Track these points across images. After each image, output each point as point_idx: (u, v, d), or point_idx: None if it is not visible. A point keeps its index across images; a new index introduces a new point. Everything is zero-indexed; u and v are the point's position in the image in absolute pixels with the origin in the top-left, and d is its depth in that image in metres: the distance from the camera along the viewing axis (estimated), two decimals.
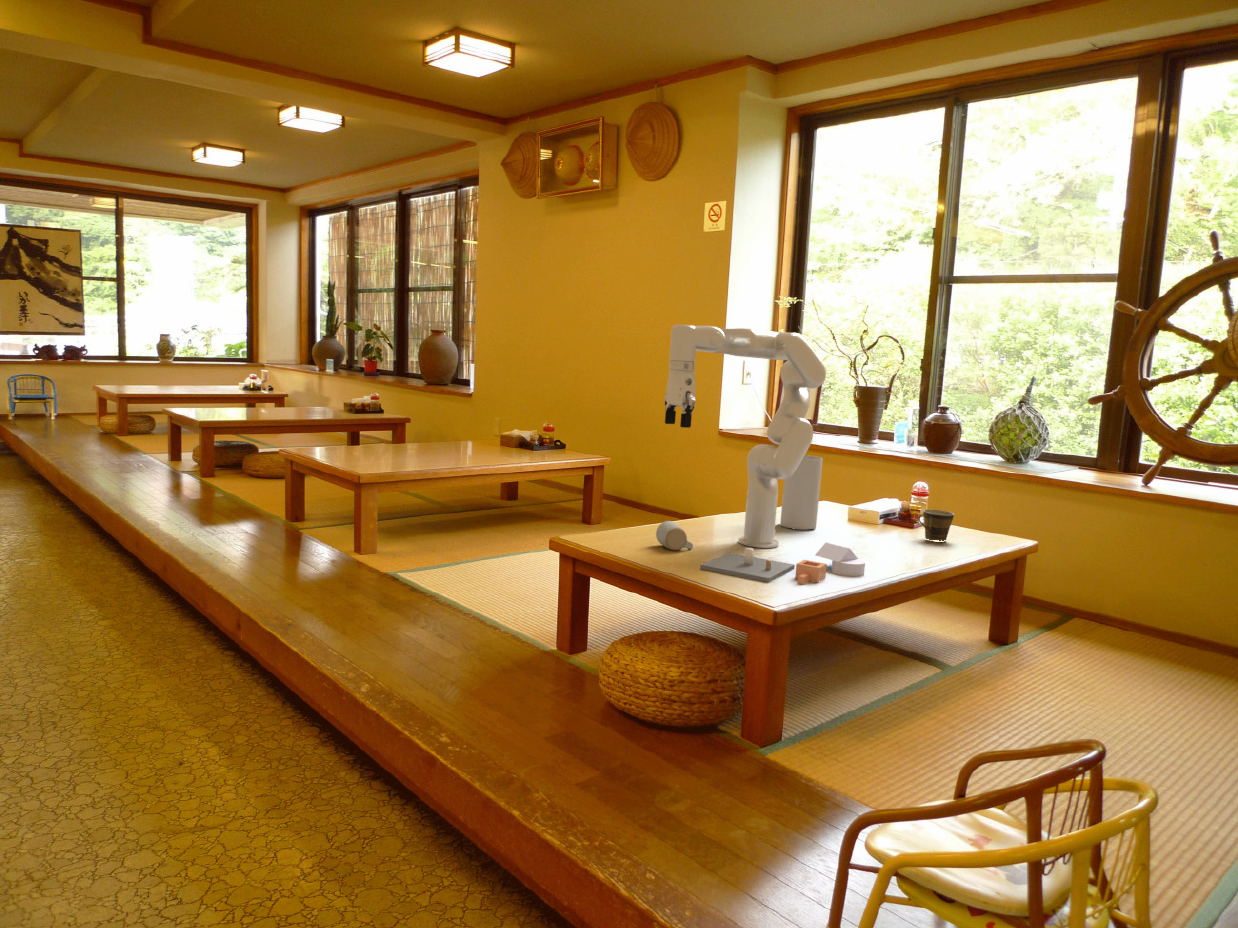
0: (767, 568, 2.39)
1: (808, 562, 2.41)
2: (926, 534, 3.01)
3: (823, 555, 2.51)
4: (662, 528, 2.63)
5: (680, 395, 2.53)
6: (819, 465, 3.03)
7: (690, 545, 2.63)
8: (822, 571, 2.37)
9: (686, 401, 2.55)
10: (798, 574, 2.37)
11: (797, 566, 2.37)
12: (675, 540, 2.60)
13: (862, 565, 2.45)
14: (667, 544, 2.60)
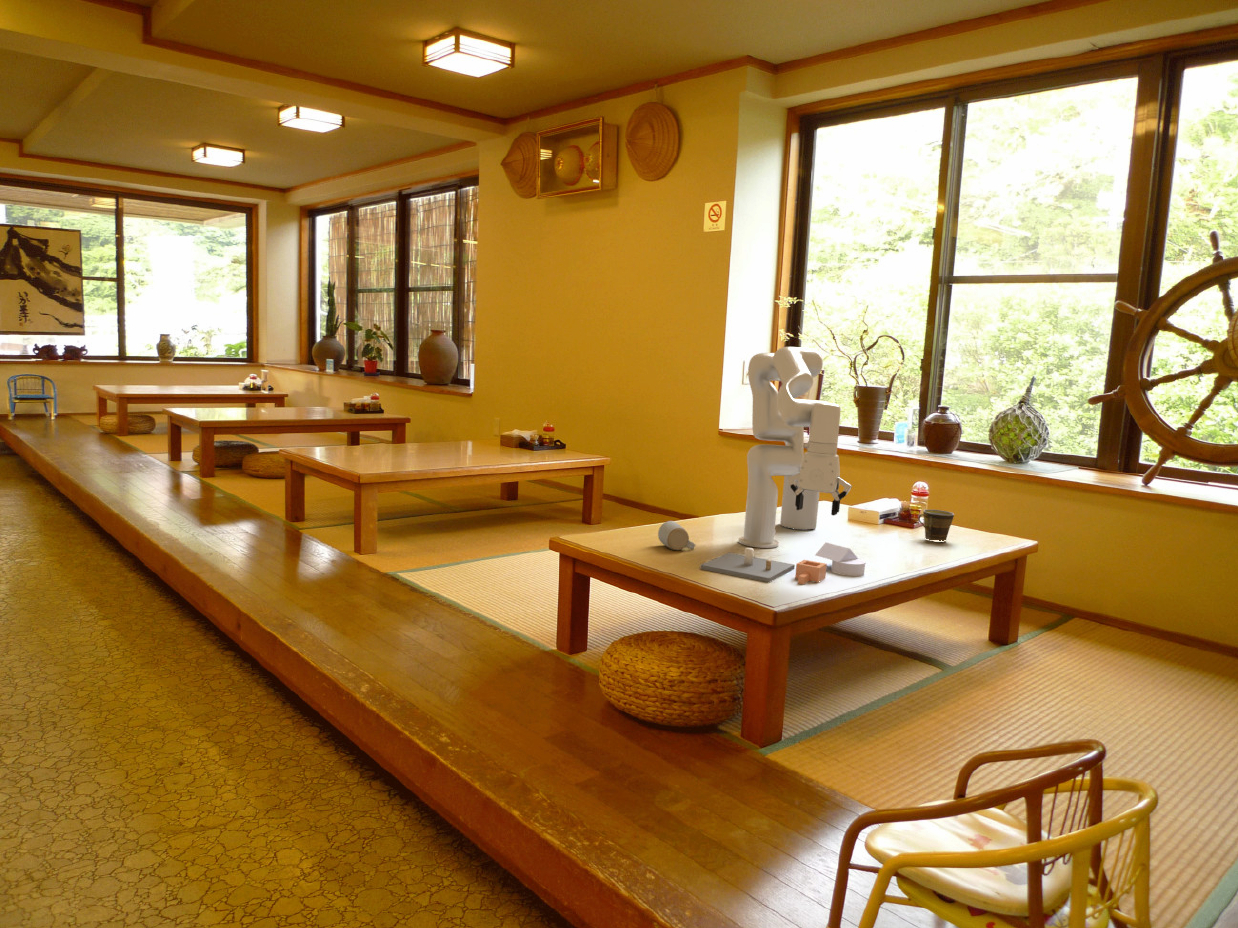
0: (767, 568, 2.39)
1: (808, 562, 2.41)
2: (926, 534, 3.01)
3: (823, 555, 2.50)
4: (664, 528, 2.63)
5: None
6: None
7: (692, 545, 2.63)
8: (822, 571, 2.37)
9: None
10: (798, 574, 2.37)
11: (797, 566, 2.37)
12: (678, 540, 2.60)
13: (862, 565, 2.45)
14: (669, 544, 2.60)
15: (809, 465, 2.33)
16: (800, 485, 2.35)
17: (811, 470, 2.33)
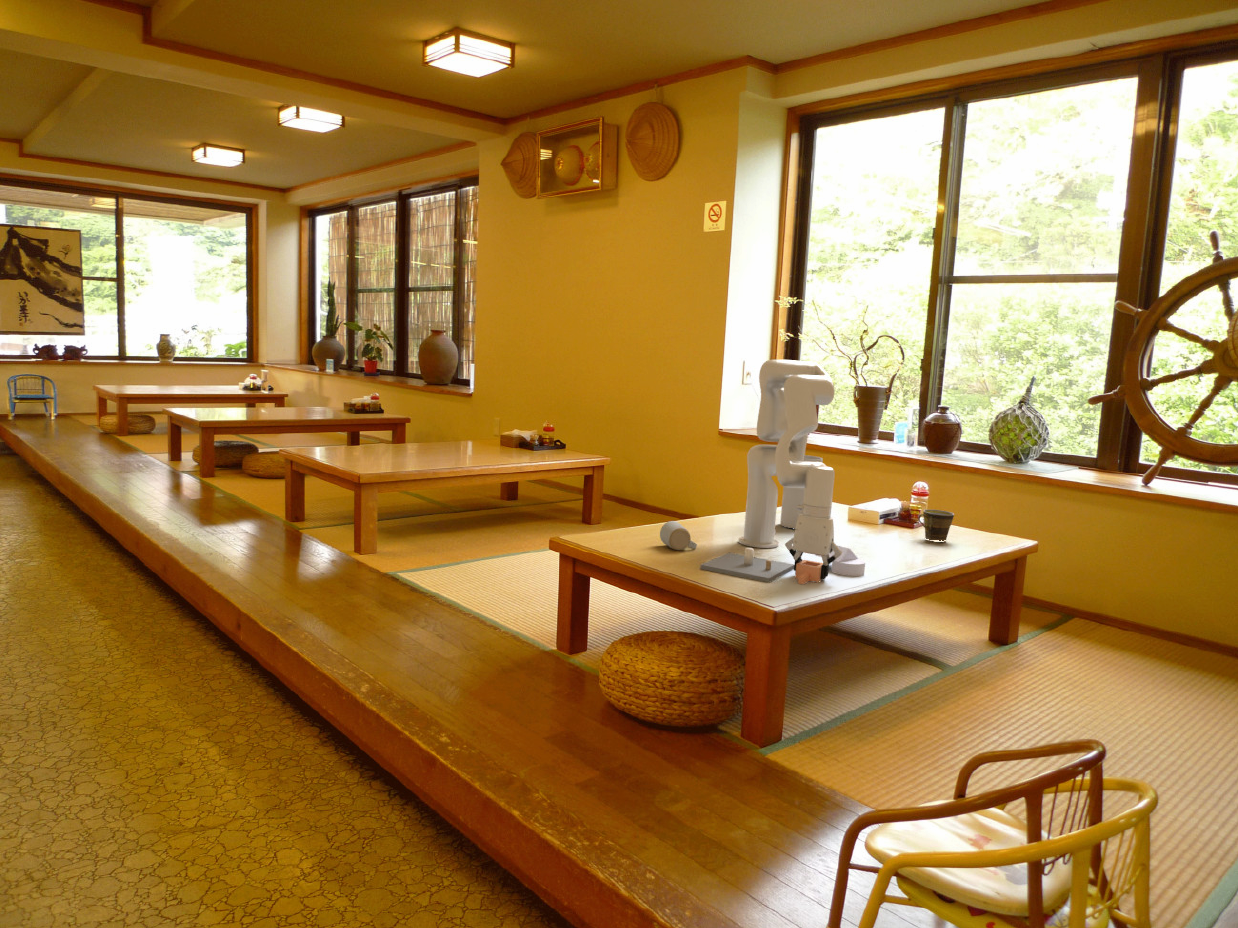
0: (767, 568, 2.39)
1: (808, 562, 2.41)
2: (926, 534, 3.01)
3: None
4: (666, 528, 2.63)
5: None
6: None
7: (694, 545, 2.63)
8: None
9: None
10: (798, 574, 2.37)
11: (797, 566, 2.37)
12: (679, 540, 2.60)
13: (862, 565, 2.45)
14: (671, 544, 2.60)
15: (804, 528, 2.36)
16: (794, 547, 2.37)
17: (805, 533, 2.35)
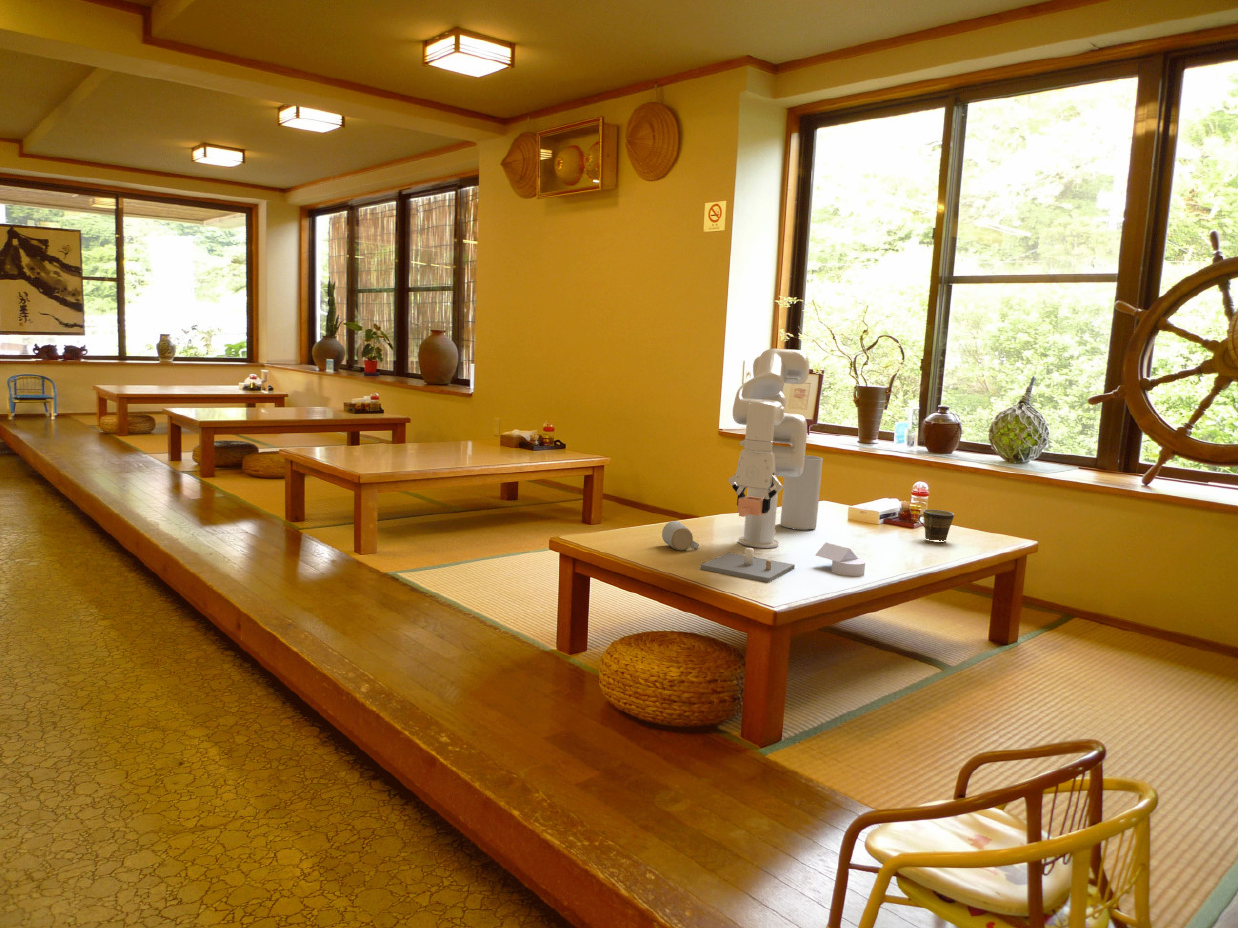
0: (767, 568, 2.39)
1: (751, 498, 2.44)
2: (926, 534, 3.01)
3: (823, 555, 2.50)
4: (668, 528, 2.64)
5: None
6: (819, 465, 3.03)
7: (696, 545, 2.64)
8: None
9: None
10: None
11: (739, 500, 2.41)
12: (682, 540, 2.60)
13: (862, 565, 2.45)
14: (673, 544, 2.60)
15: (745, 462, 2.39)
16: (737, 481, 2.41)
17: (747, 467, 2.39)
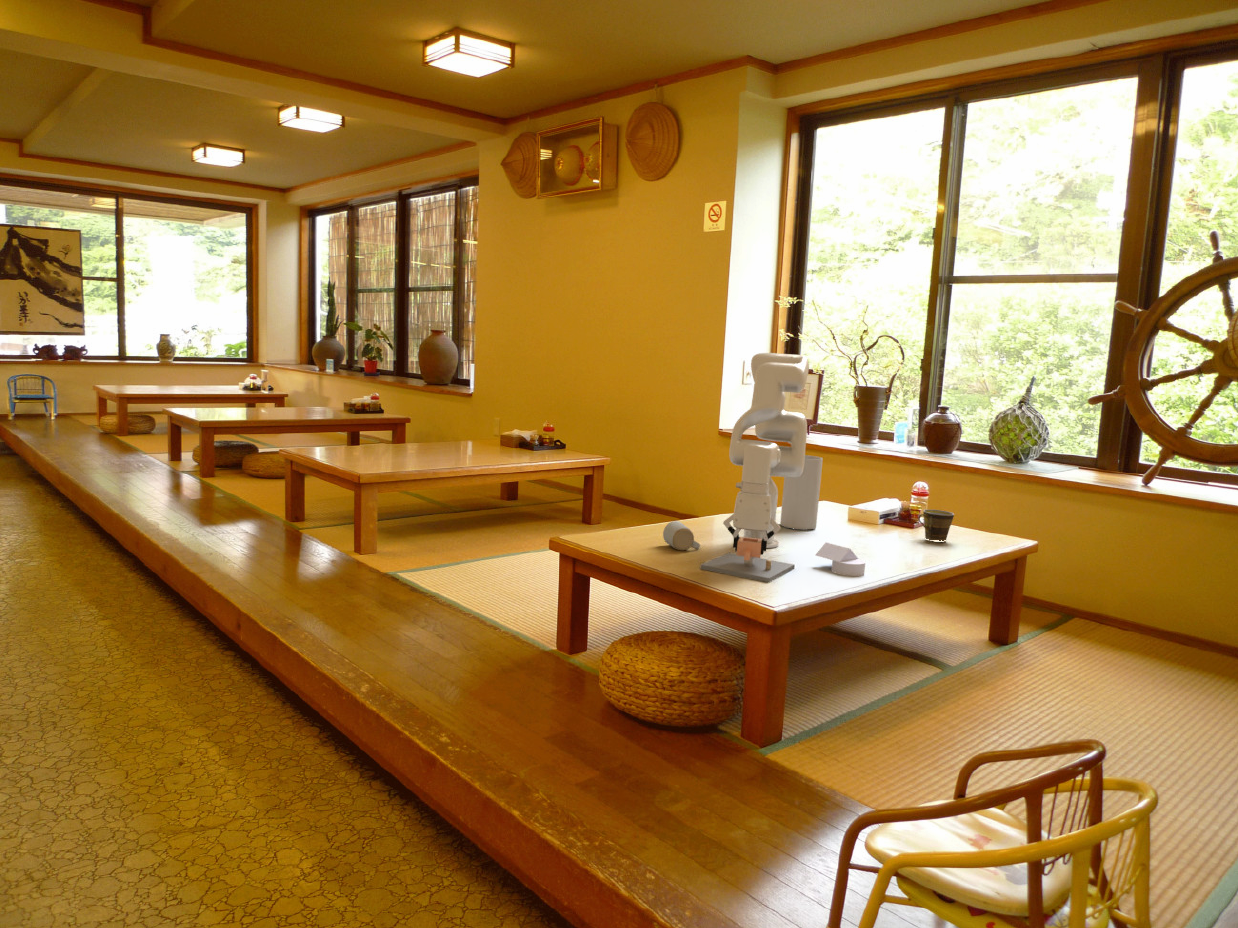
0: (767, 568, 2.39)
1: (745, 539, 2.46)
2: (926, 534, 3.01)
3: (823, 555, 2.50)
4: (669, 528, 2.64)
5: None
6: (819, 465, 3.03)
7: (697, 545, 2.64)
8: None
9: None
10: (739, 551, 2.41)
11: (738, 543, 2.41)
12: (683, 540, 2.61)
13: (862, 565, 2.45)
14: (674, 544, 2.60)
15: (744, 505, 2.40)
16: (735, 524, 2.41)
17: (746, 510, 2.40)
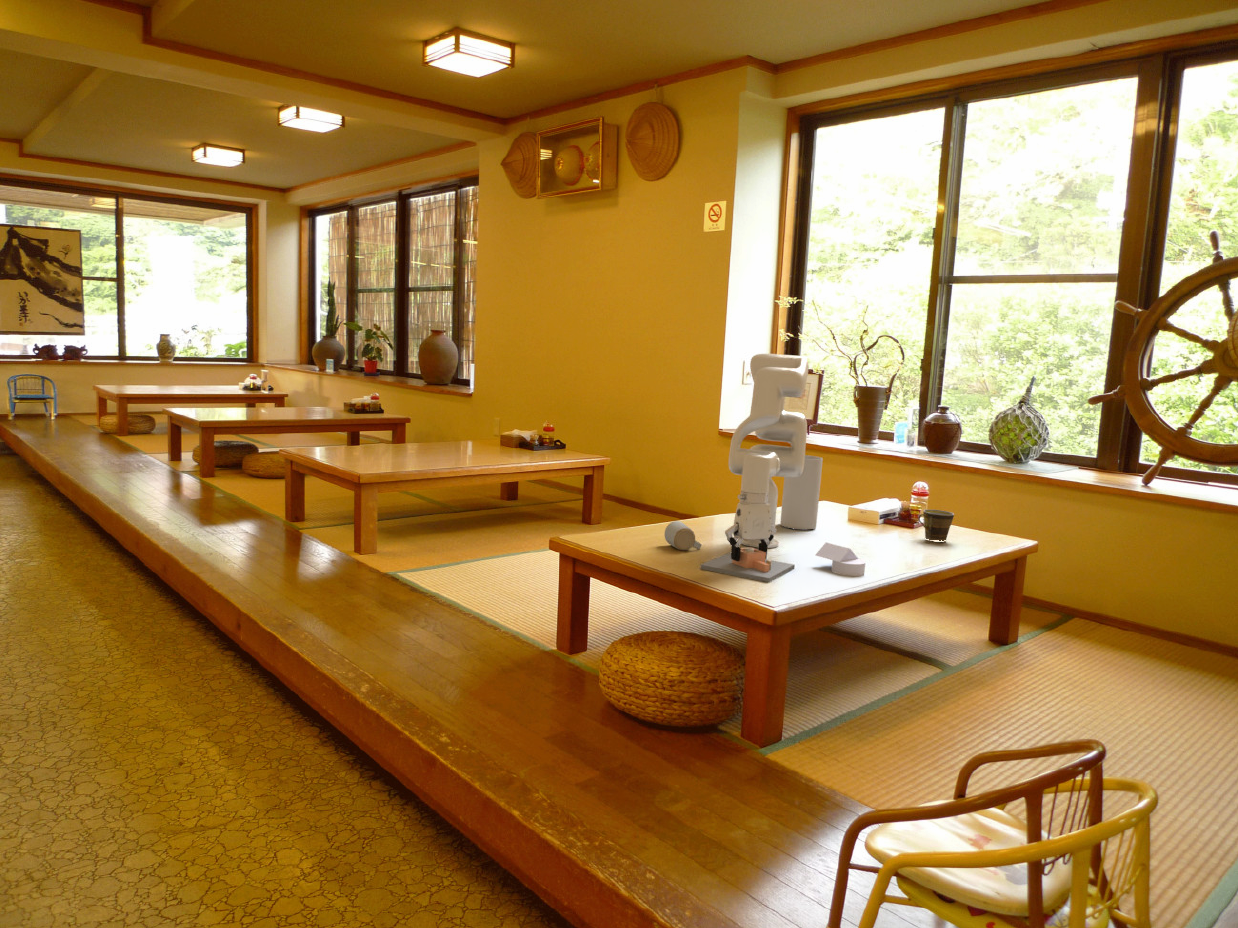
0: None
1: None
2: (926, 534, 3.01)
3: (823, 555, 2.50)
4: (670, 528, 2.64)
5: None
6: (819, 465, 3.03)
7: (698, 545, 2.64)
8: None
9: None
10: (749, 563, 2.40)
11: (748, 556, 2.40)
12: (684, 540, 2.61)
13: (862, 565, 2.45)
14: (676, 544, 2.60)
15: (752, 516, 2.39)
16: (744, 537, 2.39)
17: (753, 520, 2.40)
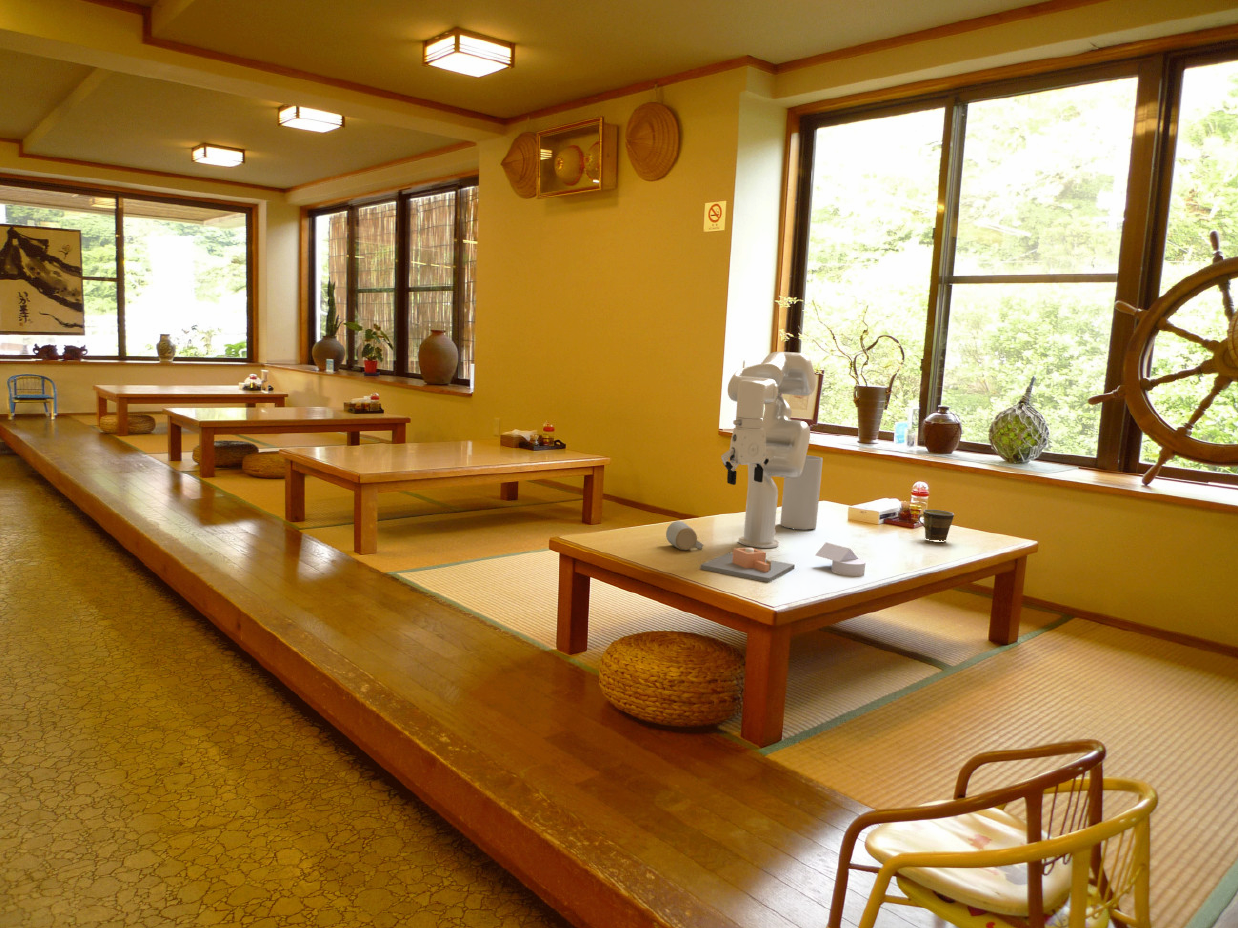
0: None
1: (740, 550, 2.45)
2: (926, 534, 3.01)
3: (823, 555, 2.50)
4: (672, 528, 2.64)
5: None
6: (819, 465, 3.03)
7: (700, 545, 2.64)
8: None
9: None
10: (749, 563, 2.40)
11: (748, 556, 2.40)
12: (686, 540, 2.61)
13: (862, 565, 2.45)
14: (677, 544, 2.60)
15: (748, 441, 2.45)
16: (740, 461, 2.45)
17: (749, 445, 2.46)
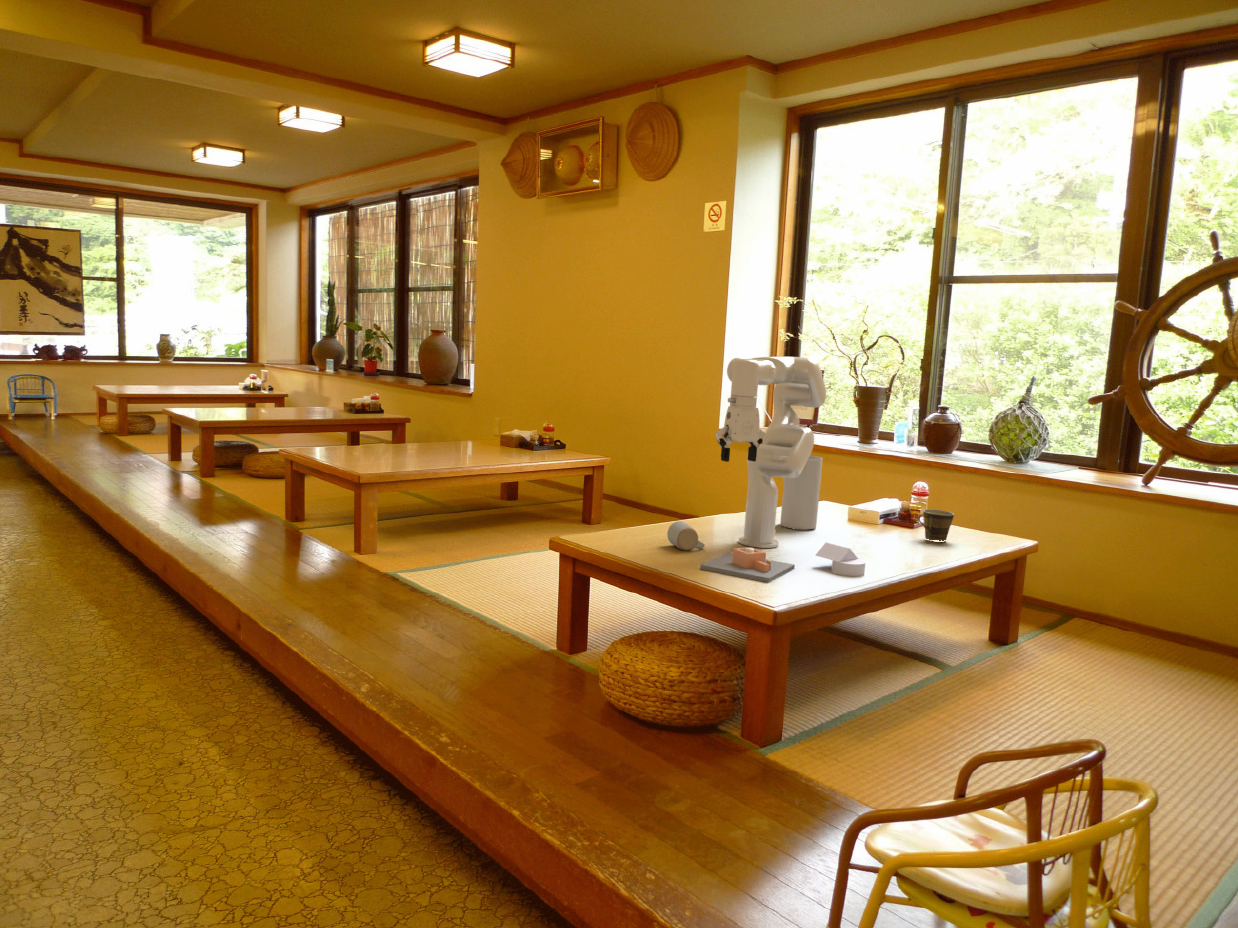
0: None
1: (740, 550, 2.45)
2: (926, 534, 3.01)
3: (823, 555, 2.50)
4: (673, 528, 2.64)
5: None
6: (819, 465, 3.03)
7: (701, 545, 2.64)
8: None
9: None
10: (749, 563, 2.40)
11: (748, 556, 2.40)
12: (687, 540, 2.61)
13: (862, 565, 2.45)
14: (679, 544, 2.60)
15: (741, 418, 2.50)
16: (734, 438, 2.50)
17: (743, 423, 2.51)
